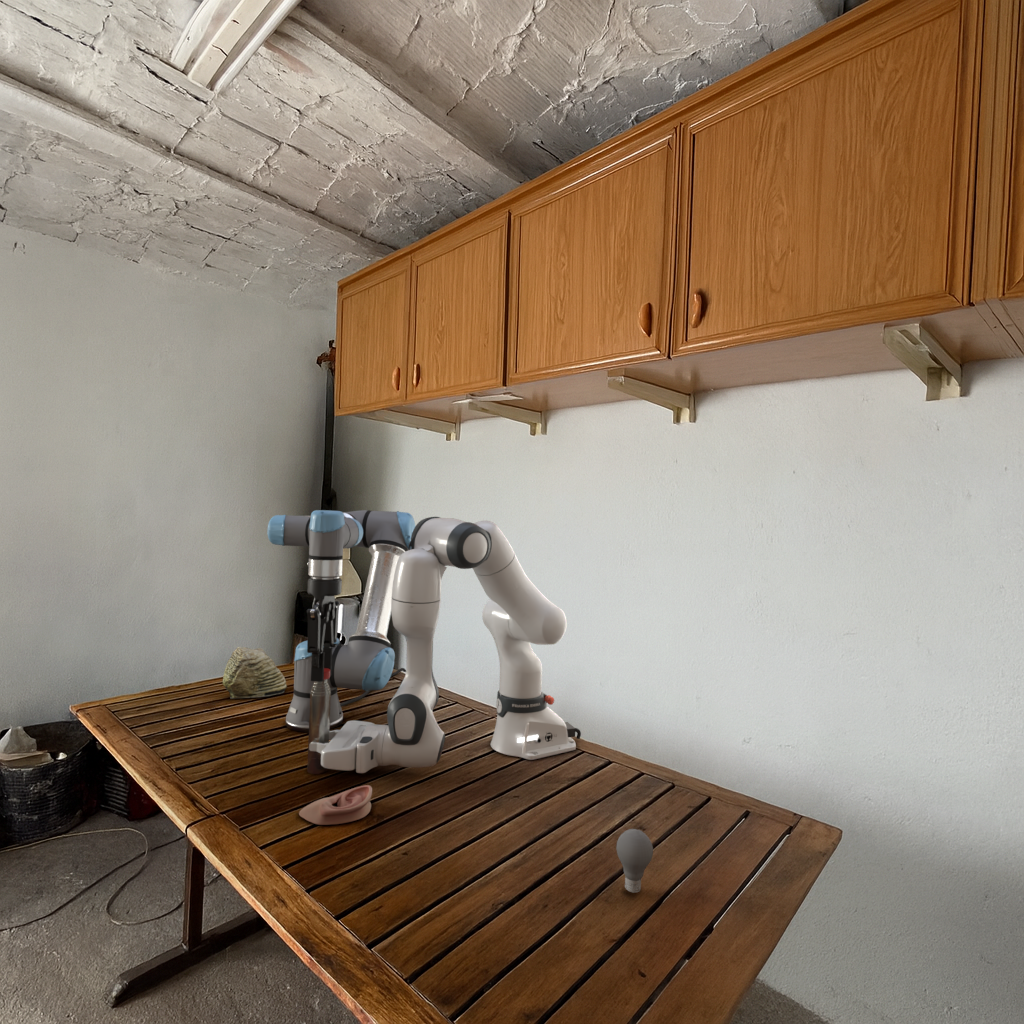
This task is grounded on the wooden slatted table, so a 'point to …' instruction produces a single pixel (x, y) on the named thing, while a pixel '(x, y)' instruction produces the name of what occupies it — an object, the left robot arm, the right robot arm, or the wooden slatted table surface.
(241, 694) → the fossil
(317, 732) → the bottle
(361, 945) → the wooden slatted table surface
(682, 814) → the wooden slatted table surface
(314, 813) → the anatomical model
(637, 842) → the light bulb
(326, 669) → the cap
